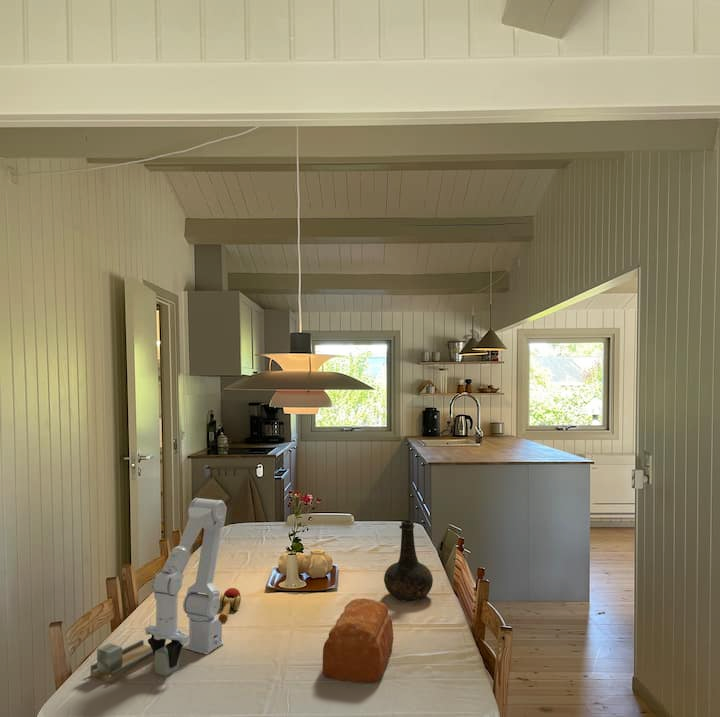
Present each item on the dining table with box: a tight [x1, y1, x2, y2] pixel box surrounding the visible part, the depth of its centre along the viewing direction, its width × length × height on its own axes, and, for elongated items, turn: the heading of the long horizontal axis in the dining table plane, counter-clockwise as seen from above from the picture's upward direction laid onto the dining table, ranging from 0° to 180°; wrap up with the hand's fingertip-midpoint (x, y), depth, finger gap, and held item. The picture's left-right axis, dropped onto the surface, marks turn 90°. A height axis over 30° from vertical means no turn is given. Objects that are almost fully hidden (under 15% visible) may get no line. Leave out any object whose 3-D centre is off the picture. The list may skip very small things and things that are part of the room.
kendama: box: [218, 587, 242, 623], centre depth 215 cm, size 8×6×18 cm
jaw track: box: [89, 639, 155, 684], centre depth 176 cm, size 9×18×8 cm, turn 152°
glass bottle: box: [383, 519, 434, 602], centre depth 228 cm, size 18×18×28 cm
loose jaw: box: [154, 645, 180, 677], centre depth 173 cm, size 5×4×6 cm
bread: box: [322, 598, 394, 684], centre depth 179 cm, size 17×24×15 cm
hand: (166, 664), depth 173 cm, fingers closed on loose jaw, 4 cm apart
